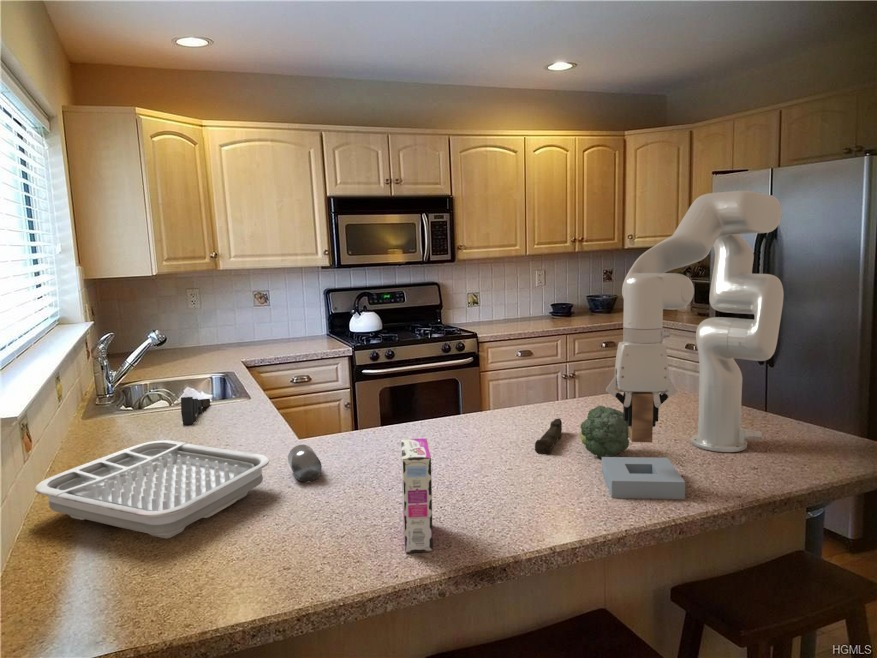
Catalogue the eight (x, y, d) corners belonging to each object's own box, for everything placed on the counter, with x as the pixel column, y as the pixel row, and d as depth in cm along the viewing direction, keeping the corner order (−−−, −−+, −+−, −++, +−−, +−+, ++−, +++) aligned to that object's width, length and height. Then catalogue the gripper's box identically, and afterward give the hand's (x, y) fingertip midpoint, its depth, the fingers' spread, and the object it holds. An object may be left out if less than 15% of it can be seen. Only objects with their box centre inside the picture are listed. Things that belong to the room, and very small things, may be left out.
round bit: (284, 468, 141) (290, 480, 134) (291, 442, 141) (297, 452, 133) (310, 472, 143) (317, 484, 136) (317, 446, 143) (324, 457, 136)
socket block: (667, 473, 134) (667, 457, 133) (684, 499, 120) (685, 482, 119) (601, 472, 135) (601, 456, 135) (611, 497, 122) (611, 480, 121)
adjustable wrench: (211, 419, 207) (191, 425, 182) (203, 420, 206) (181, 425, 182) (211, 395, 207) (190, 397, 182) (202, 395, 207) (180, 397, 182)
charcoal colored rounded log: (550, 456, 147) (550, 437, 146) (534, 454, 149) (534, 436, 148) (570, 434, 164) (570, 417, 163) (555, 433, 166) (555, 416, 165)
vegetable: (614, 430, 158) (649, 419, 144) (596, 473, 152) (631, 465, 139) (576, 405, 157) (607, 391, 144) (556, 447, 152) (587, 436, 138)
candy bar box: (435, 552, 102) (431, 457, 100) (405, 554, 102) (401, 459, 100) (430, 522, 113) (427, 436, 111) (403, 524, 113) (399, 438, 111)
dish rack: (165, 559, 103) (161, 513, 102) (25, 525, 118) (20, 485, 117) (283, 489, 132) (281, 454, 131) (158, 469, 146) (155, 437, 145)
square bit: (648, 436, 128) (649, 389, 126) (652, 442, 124) (653, 394, 123) (628, 436, 128) (629, 389, 127) (631, 442, 124) (633, 393, 123)
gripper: (680, 334, 126) (677, 420, 128) (597, 334, 128) (596, 419, 130) (690, 339, 119) (687, 430, 121) (602, 339, 121) (601, 429, 123)
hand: (640, 423), depth 126 cm, fingers closed on square bit, 4 cm apart
